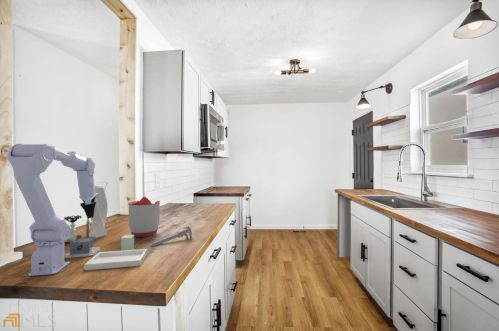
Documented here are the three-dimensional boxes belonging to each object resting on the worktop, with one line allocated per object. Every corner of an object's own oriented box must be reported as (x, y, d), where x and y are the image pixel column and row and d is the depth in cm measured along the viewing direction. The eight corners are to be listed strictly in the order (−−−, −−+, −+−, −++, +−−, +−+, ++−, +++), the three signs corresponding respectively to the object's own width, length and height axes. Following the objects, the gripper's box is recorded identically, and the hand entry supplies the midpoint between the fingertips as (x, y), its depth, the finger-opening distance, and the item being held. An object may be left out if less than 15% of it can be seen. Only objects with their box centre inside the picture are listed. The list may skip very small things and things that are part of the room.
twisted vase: (102, 233, 128) (102, 181, 128) (111, 235, 124) (111, 182, 125) (85, 237, 121) (85, 182, 121) (94, 239, 117) (94, 183, 117)
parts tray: (140, 265, 86) (140, 260, 86) (84, 270, 82) (84, 264, 82) (147, 253, 98) (147, 248, 98) (98, 257, 94) (98, 252, 94)
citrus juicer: (168, 230, 133) (168, 194, 133) (147, 239, 116) (147, 198, 116) (144, 228, 137) (144, 193, 137) (120, 237, 120) (120, 197, 120)
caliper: (190, 237, 120) (190, 225, 120) (191, 238, 119) (191, 225, 119) (148, 246, 107) (148, 232, 107) (149, 247, 106) (149, 233, 106)
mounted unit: (92, 255, 95) (92, 242, 95) (64, 258, 93) (64, 244, 93) (100, 249, 103) (100, 236, 103) (74, 250, 101) (74, 237, 101)
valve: (72, 244, 109) (72, 218, 109) (60, 243, 111) (60, 217, 111) (84, 240, 116) (84, 215, 116) (73, 239, 117) (73, 215, 117)
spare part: (131, 251, 100) (131, 237, 100) (121, 252, 99) (121, 238, 99) (134, 248, 104) (134, 234, 104) (124, 249, 103) (124, 235, 103)
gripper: (97, 188, 99) (101, 218, 102) (97, 180, 111) (100, 207, 114) (77, 190, 95) (81, 222, 98) (78, 182, 107) (82, 210, 110)
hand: (90, 214), depth 106 cm, fingers open, 7 cm apart
